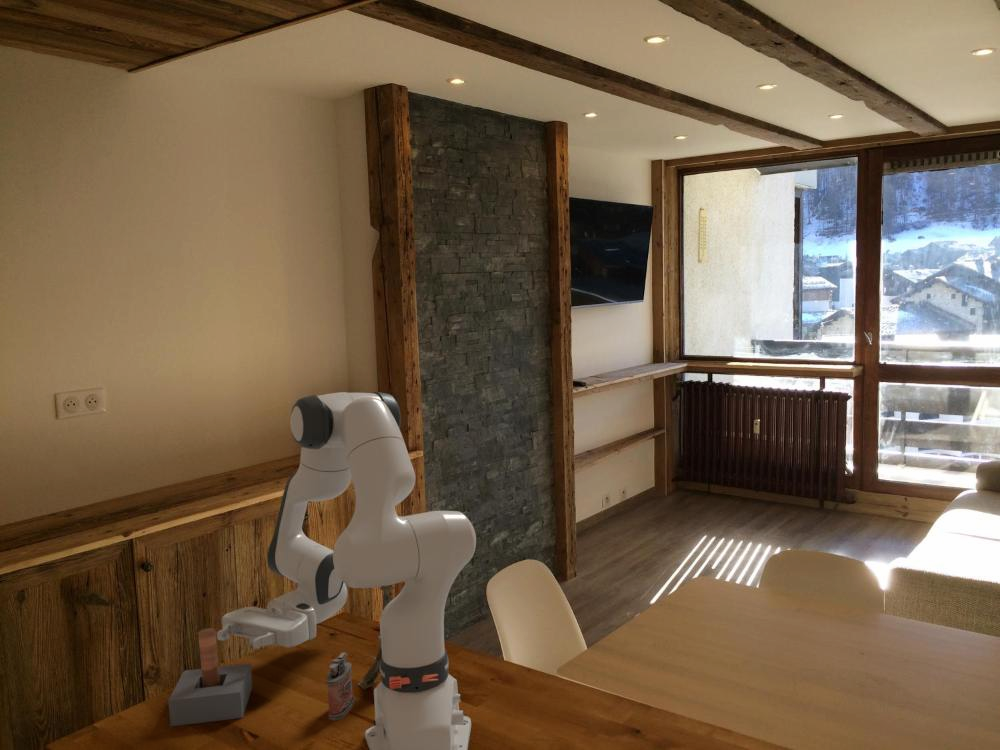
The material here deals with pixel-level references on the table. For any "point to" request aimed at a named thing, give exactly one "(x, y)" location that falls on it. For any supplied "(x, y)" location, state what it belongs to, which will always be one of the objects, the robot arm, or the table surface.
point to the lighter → (339, 688)
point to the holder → (210, 696)
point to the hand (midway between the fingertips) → (235, 640)
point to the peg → (209, 657)
